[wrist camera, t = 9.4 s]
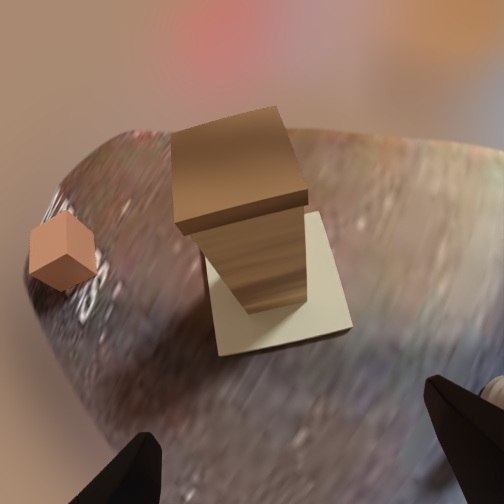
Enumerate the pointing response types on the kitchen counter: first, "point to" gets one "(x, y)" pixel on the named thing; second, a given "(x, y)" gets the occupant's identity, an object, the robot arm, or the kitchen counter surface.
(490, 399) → the rook chess piece
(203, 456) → the kitchen counter surface
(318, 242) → the pad
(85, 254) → the terracotta block
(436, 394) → the robot arm
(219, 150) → the brown block
